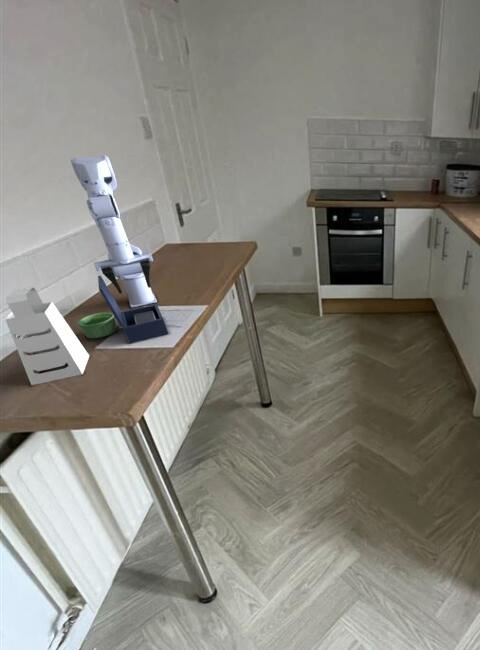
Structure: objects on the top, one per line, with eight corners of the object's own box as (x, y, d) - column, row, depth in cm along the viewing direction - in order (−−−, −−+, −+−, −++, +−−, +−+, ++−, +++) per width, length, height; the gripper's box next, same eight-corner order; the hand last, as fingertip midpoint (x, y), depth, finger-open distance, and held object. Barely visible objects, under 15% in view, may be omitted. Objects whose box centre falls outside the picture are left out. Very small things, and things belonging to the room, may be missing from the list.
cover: (100, 275, 116) (97, 276, 116) (101, 288, 105) (98, 289, 105) (120, 310, 122) (118, 311, 122) (123, 326, 112) (121, 327, 111)
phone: (137, 323, 124) (133, 314, 122) (156, 319, 126) (152, 309, 124) (140, 335, 117) (136, 325, 115) (160, 330, 119) (156, 320, 117)
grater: (31, 385, 98) (-18, 304, 87) (42, 365, 106) (-1, 289, 95) (82, 374, 101) (41, 294, 90) (89, 355, 109) (52, 281, 98)
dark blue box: (162, 318, 129) (156, 303, 126) (168, 333, 118) (163, 318, 116) (126, 326, 125) (120, 312, 122) (129, 343, 114) (123, 328, 112)
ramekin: (87, 330, 123) (80, 316, 121) (120, 323, 126) (115, 310, 124) (81, 342, 116) (74, 327, 114) (117, 335, 119) (111, 320, 117)
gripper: (87, 250, 111) (108, 299, 118) (146, 240, 117) (163, 287, 124) (87, 245, 116) (107, 292, 123) (144, 236, 122) (160, 281, 129)
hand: (135, 289), depth 124 cm, fingers open, 7 cm apart
